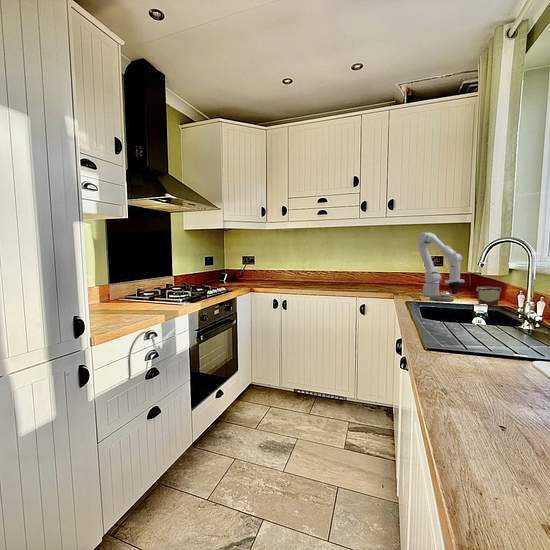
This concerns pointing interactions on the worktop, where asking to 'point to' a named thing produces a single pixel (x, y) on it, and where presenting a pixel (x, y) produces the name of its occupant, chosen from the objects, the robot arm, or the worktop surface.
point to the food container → (488, 295)
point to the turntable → (441, 298)
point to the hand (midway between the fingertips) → (454, 294)
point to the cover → (445, 294)
